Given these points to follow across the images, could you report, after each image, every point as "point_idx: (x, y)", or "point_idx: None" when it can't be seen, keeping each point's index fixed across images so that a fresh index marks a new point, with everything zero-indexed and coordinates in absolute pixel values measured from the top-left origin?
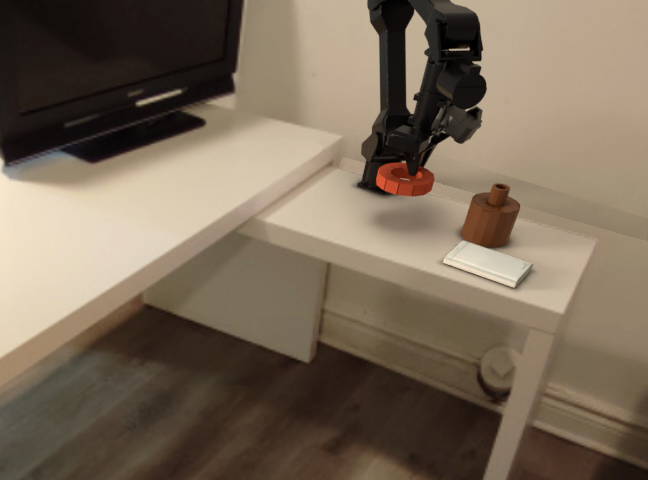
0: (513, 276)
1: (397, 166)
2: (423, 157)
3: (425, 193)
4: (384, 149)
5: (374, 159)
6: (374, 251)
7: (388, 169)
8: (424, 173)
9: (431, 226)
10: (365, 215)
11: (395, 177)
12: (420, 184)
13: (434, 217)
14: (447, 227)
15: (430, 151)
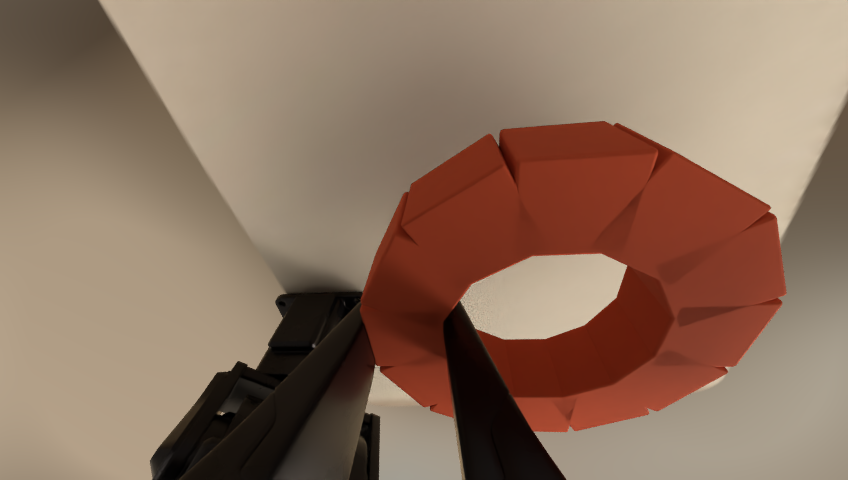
0: None
1: None
2: (340, 393)
3: (607, 123)
4: (365, 473)
5: (362, 422)
6: (812, 96)
7: (562, 407)
8: (455, 273)
9: (421, 65)
10: (521, 264)
11: (668, 353)
12: (721, 188)
13: (343, 106)
14: (370, 3)
15: (296, 440)
